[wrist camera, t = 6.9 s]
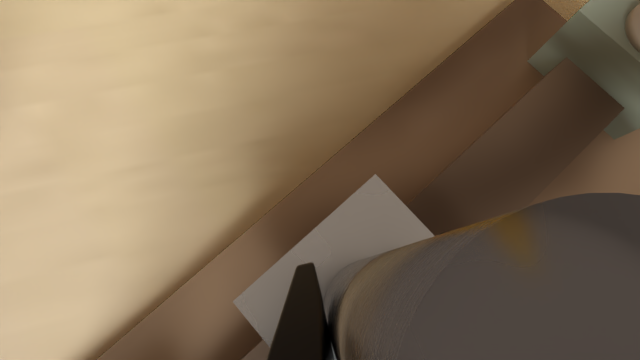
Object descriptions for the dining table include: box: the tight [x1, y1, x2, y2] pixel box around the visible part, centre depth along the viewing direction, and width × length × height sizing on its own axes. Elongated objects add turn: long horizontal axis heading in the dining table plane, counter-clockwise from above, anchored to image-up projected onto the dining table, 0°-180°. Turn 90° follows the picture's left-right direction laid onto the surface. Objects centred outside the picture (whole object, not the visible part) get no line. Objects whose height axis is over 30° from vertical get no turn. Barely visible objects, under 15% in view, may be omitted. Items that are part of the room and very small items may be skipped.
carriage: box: [233, 174, 640, 360], centre depth 8 cm, size 6×6×11 cm
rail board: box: [96, 0, 640, 360], centre depth 14 cm, size 10×27×5 cm, turn 132°
